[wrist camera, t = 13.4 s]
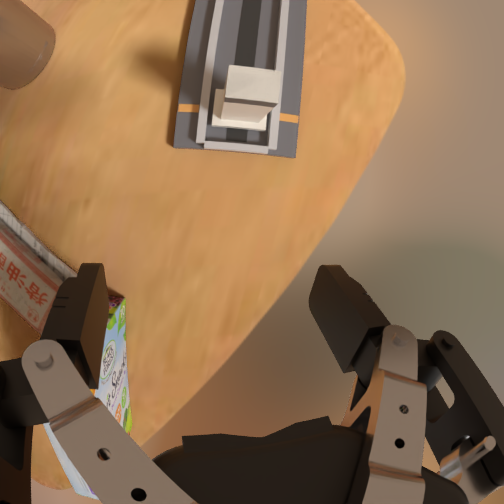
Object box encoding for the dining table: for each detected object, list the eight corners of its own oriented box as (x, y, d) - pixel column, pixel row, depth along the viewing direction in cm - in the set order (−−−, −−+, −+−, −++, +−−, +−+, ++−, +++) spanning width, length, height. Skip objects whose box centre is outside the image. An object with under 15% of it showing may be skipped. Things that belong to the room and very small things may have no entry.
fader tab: (211, 126, 27) (212, 104, 18) (215, 91, 26) (218, 56, 17) (263, 131, 28) (288, 113, 18) (267, 96, 27) (292, 65, 18)
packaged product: (-49, 261, 23) (-28, 195, 22) (-28, 251, 27) (-5, 190, 26) (45, 357, 27) (77, 300, 26) (60, 337, 32) (93, 283, 31)
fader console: (174, 148, 28) (172, 146, 26) (200, -13, 23) (199, -22, 21) (292, 158, 30) (298, 157, 28) (304, 0, 25) (309, -8, 23)
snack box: (82, 289, 31) (18, 361, 16) (127, 296, 32) (81, 379, 17) (99, 417, 36) (75, 496, 21) (134, 424, 37) (119, 507, 22)
